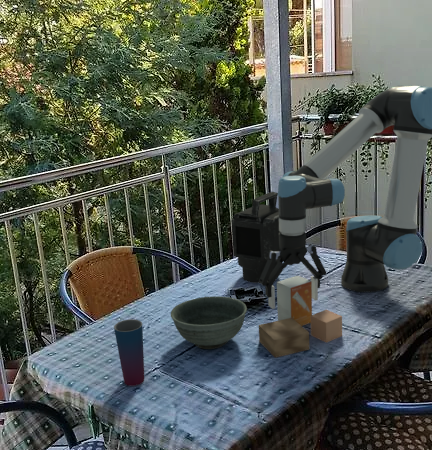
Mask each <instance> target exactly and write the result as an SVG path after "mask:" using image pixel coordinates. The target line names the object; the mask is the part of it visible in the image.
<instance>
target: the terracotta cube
mask: <svg viewBox="0 0 432 450" xmlns="http://www.w3.org/2000/svg"><path fill="white" fill-rule="evenodd" d="M310 336H311V337H314V338H316V339H318V340H320V341H322V342H324V343H329V342H331V341H334V340H336V339H337V340H338V338H341V337H343V316H342V315H341V314H338V313H335V312H333V311H332V310H331V311H330V310H329V309H324V310H322V311H319V312H317V313H314V314H312V315H311V323H310Z"/></svg>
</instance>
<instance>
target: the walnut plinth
mask: <svg viewBox="0 0 432 450" xmlns="http://www.w3.org/2000/svg"><path fill="white" fill-rule="evenodd" d="M258 341H259V343H260V344H261V345H262V346H263V347H264V348H265V349H266V350H267V351H268V352H269V354H271V355H272V356H273V358H275V359H276V358H281V357H283V356H284V357H285V356H288V355H293V354H297V353H300V352H304V351H308V350H309V351H310V332H309V331H308V330H307V329H306V328H305V327H303V326H301V325H300V324H299V323H297V322H296V321H295V320H294V319H293V318H288V319H284V320H279V321H278V320H275V321H271V322H266V323H261V324H258Z"/></svg>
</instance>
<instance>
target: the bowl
mask: <svg viewBox="0 0 432 450" xmlns="http://www.w3.org/2000/svg"><path fill="white" fill-rule="evenodd" d="M247 311H248V308H247V305H246V304H245V302H244V301H242V300H239V299H237V298H233V297H229V296H220V295H219V296H218V295H217V296H216V295H215V296H202V297H197V298H192V299H188V300H186V301H183V302H180V303H178V304H176V305H175V306H174V307H173V308H172V309H171V311H170V317H171V319H172V322H173V323H174V326H175V328H176V331H177V332H178V333H179V334H180V336H181V337H182V338H183V339H184V340H186V341H187V342H188V343H191V344H194V345H195V346H196V347H197V348H200V349H205V350H212V349H218V348H221V347H224V346H225V345H226V344H227V343H228V342H229V341H230V340H232V339H233V338H234V337H236V336H237V335H238V334H239V333H240V331H241V329H242V327H243V324H244V322H245V321H244V320H245V317H246V314H247Z"/></svg>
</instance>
